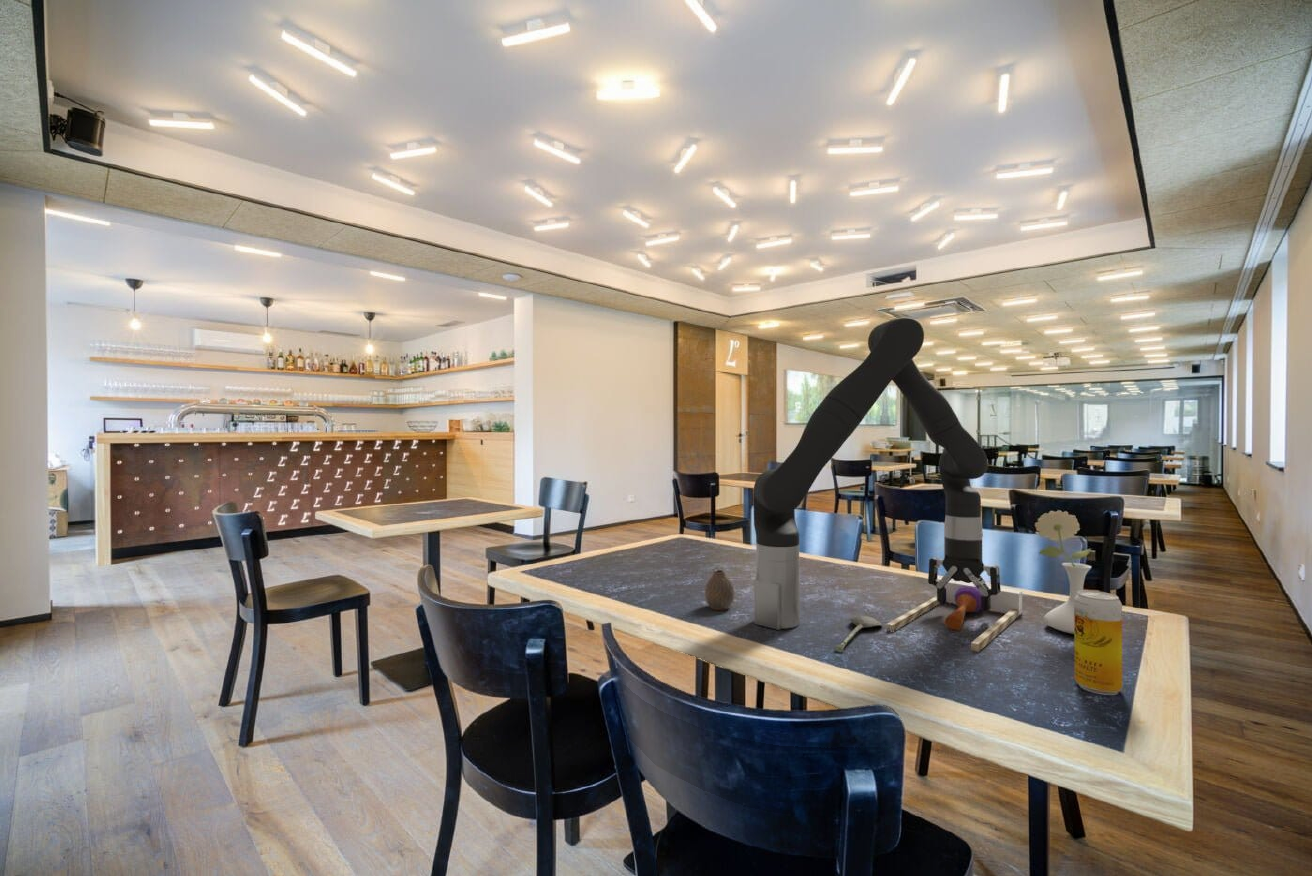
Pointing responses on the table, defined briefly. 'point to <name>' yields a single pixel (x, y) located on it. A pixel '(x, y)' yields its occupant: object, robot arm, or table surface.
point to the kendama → (964, 606)
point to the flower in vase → (1057, 529)
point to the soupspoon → (857, 629)
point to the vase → (719, 591)
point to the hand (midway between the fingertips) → (963, 608)
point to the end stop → (997, 602)
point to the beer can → (1098, 642)
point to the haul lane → (975, 645)
